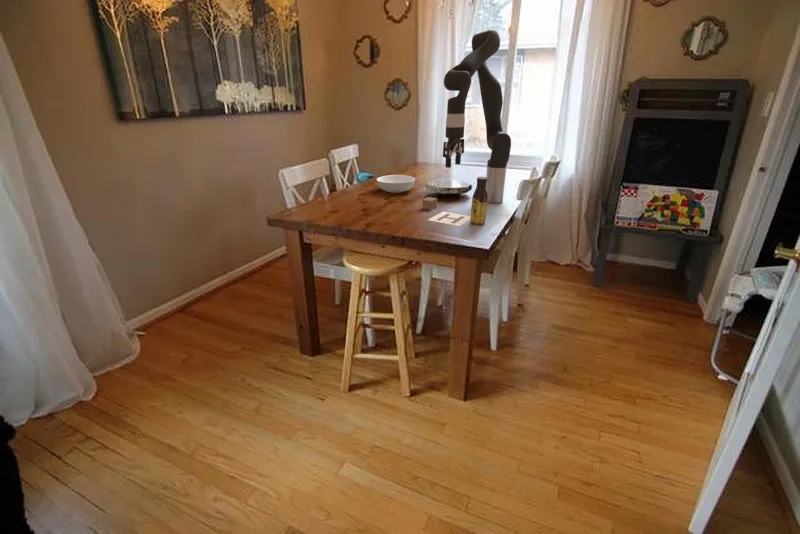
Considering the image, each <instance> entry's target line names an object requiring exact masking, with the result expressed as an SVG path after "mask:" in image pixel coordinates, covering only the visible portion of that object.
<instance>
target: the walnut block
mask: <svg viewBox="0 0 800 534" xmlns="http://www.w3.org/2000/svg"><path fill="white" fill-rule="evenodd" d="M421 205H422V206H421V207H422V209H423V210H429V211H433V210H434V209H436V208H438V198H436V197H429V196H428V197H425V198H424V199H422V203H421Z"/></svg>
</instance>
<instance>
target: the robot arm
mask: <svg viewBox="0 0 800 534" xmlns="http://www.w3.org/2000/svg"><path fill="white" fill-rule="evenodd" d="M500 37H501V36H500V33H499V32H498V31H497V30H496V29H488V30H485V31H481V32H477V33H476V34H473V36H472V38H471V49H472V51H470V53H468V54H467V55H466V56H465V57H464V58H463V59H462V60H461V62H460V63H458V64H457V65H455V66H454V67H452V68H451V69H449V70H448V71H447V72H446V73H445V75H444V78H443V87H445V89H446V90H447V91H451V92H453V91H456V92H457V91H458V94H457V95H456V96H453V97H450V98H448V100H447V107H446V120H445V138H446V139H447V141H444V142H443V146H442V157H443V158H444V159H445V168H448V169H449V168H451V167H452V157H453V155H454V154H455V157H454V159H455V162H454V164H455V165H457V166H458V165H461V163H462V162H461V161H462V155H463V154H464V153H465V139H464V137H465V122H466V121H465V119H466V116H465V114H466V113H465V111H466V101H467V98H468V94H469V91H470V88H471V85H472V77H474V75H475V73H476V72H477V78H478V83H479V91H480V99H481V104H482V109H483V115H484V121H485V129H486V130H485V132H486V143H487V147H488V148H489V150H490V151H491V153H490V154H491V155H490V158H489V159H488V160H487V164H486V175H485V177H486V178H487V182H486V191H487V193H488V199H487V201H488V202H487V204H501V203H503V202H502V201H504V200H503V199H504V193H505V192H504V191H505V184H506V183H505V182H506V176H507V175H506V173H507V165H508V162H509V160H510V153H511V148H512V139H511V136H510V135H509V134H508V133H506V132H504V131H503V127H502V121H501V119H502V110H503V103H504V101H503V92H502V85H501V83H500V81H499V80H498V78H497V77H496V76H495V75H494V73H492V71H491V70H490V68H489V66H488V64H487V60H489V58H491V57H492V56H493V55H494V54H496V53H497V52H498V51H499V49H500V46H501V38H500Z"/></svg>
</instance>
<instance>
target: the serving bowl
mask: <svg viewBox="0 0 800 534" xmlns="http://www.w3.org/2000/svg"><path fill="white" fill-rule="evenodd" d="M415 181H416V178H415V177H413V176H411V175H406V174H405V175H404V174H389V175H382V176H380V177H376V184H377V185H378V187H379V189H380V190H382V191H385V192H388V193H394V194H397V193H398V194H400V193H404V192H407V191H409V190H411V189H412V188H413V186H414V185H415Z"/></svg>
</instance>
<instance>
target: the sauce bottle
mask: <svg viewBox="0 0 800 534" xmlns="http://www.w3.org/2000/svg"><path fill="white" fill-rule="evenodd" d="M486 182H487V178H486V176H478V177H477V178H476V187H475V189H474V191H473V195H472V198H471V199H472V200H471V208H470V216H471V218H470V220H469V221H470V223H469V224H471V225H472V226H477V227H478V226H484V225H485V223H486V220H487V219H486V218H487V209H488V201H487V199H488V193H487V191H486Z"/></svg>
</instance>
